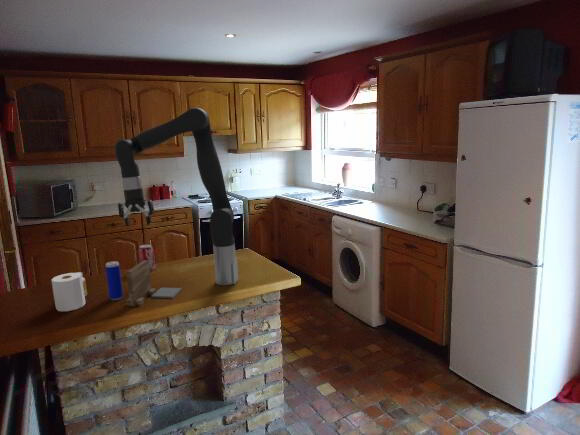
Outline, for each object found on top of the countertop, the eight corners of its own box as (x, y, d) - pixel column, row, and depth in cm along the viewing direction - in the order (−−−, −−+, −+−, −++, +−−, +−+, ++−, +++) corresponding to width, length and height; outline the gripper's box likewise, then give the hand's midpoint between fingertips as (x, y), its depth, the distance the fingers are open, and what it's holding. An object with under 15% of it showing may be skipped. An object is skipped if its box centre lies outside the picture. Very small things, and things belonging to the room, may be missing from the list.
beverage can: (126, 296, 174) (121, 261, 171) (116, 301, 170) (111, 265, 167) (116, 294, 177) (112, 260, 173) (106, 299, 172) (102, 264, 169)
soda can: (158, 267, 211) (155, 243, 208) (152, 271, 204) (149, 247, 201) (144, 267, 211) (141, 243, 209) (138, 271, 205) (135, 247, 202)
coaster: (181, 289, 180) (181, 288, 180) (172, 298, 171) (172, 296, 171) (161, 289, 181) (161, 287, 181) (151, 297, 172) (151, 295, 172)
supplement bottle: (90, 294, 179) (87, 272, 176) (80, 299, 174) (76, 276, 172) (80, 292, 180) (76, 271, 178) (69, 297, 175) (66, 275, 173)
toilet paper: (50, 308, 165) (45, 279, 162) (75, 299, 174) (71, 271, 171) (66, 313, 160) (61, 283, 157) (91, 303, 169) (87, 274, 166)
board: (156, 292, 178) (153, 260, 175) (140, 306, 164) (136, 271, 161) (143, 292, 179) (139, 260, 176) (125, 305, 165) (121, 271, 162)
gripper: (152, 185, 181) (158, 222, 184) (119, 188, 181) (125, 225, 184) (146, 187, 174) (152, 226, 177) (112, 190, 174) (118, 229, 177)
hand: (138, 225), depth 181 cm, fingers open, 8 cm apart
